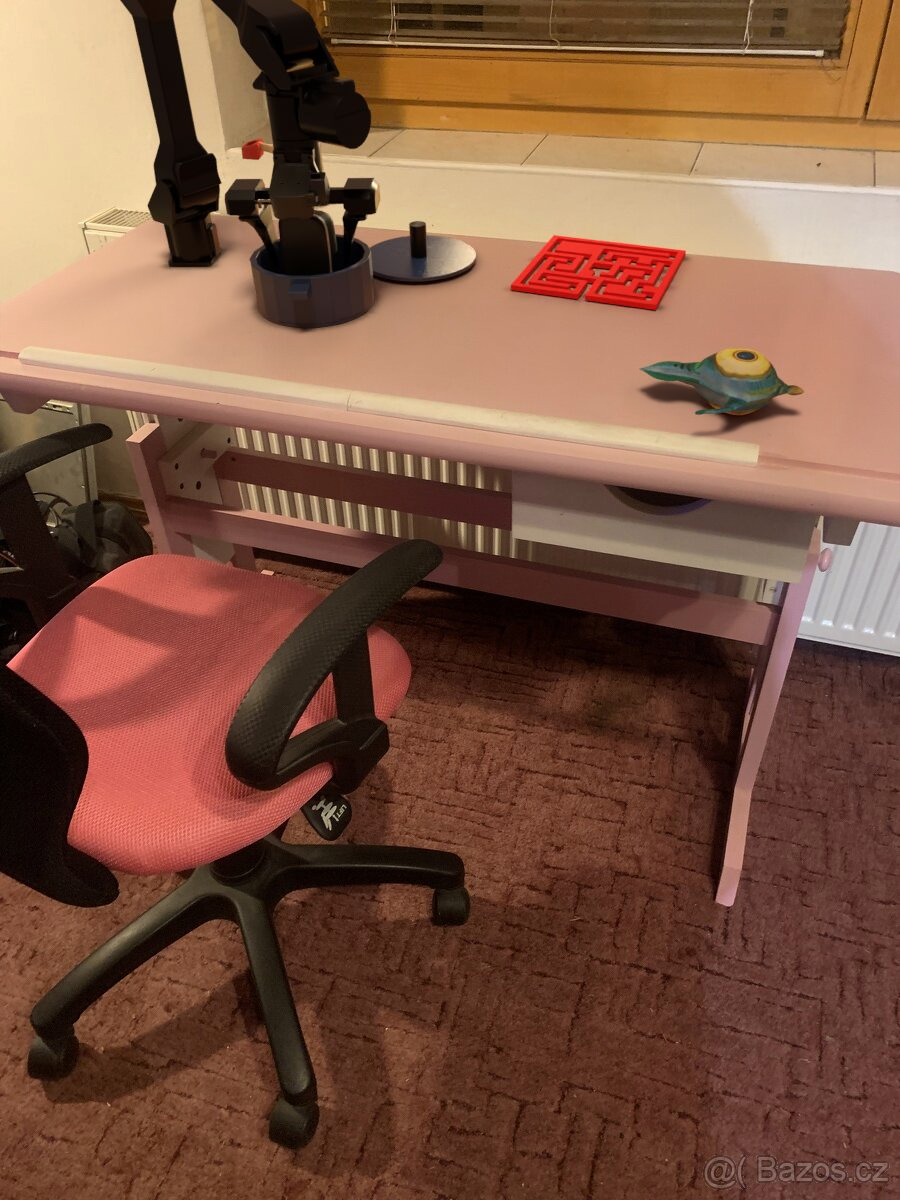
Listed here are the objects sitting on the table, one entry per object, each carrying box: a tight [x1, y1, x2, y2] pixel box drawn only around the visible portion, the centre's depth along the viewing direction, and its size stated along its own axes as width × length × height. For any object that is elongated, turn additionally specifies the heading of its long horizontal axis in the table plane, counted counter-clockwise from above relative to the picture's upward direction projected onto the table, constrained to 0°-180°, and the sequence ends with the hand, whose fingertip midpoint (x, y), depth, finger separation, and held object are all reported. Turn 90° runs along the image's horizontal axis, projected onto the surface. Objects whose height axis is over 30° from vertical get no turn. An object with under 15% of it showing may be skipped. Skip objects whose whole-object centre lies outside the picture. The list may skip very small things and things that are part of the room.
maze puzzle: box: [510, 234, 687, 311], centre depth 124 cm, size 20×20×1 cm
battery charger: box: [277, 209, 337, 276], centre depth 115 cm, size 7×4×11 cm, turn 67°
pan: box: [249, 233, 376, 329], centre depth 117 cm, size 16×21×6 cm
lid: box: [369, 220, 477, 282], centre depth 127 cm, size 17×17×6 cm
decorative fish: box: [639, 347, 805, 416], centre depth 95 cm, size 13×12×6 cm
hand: (312, 264), depth 116 cm, fingers open, 9 cm apart
